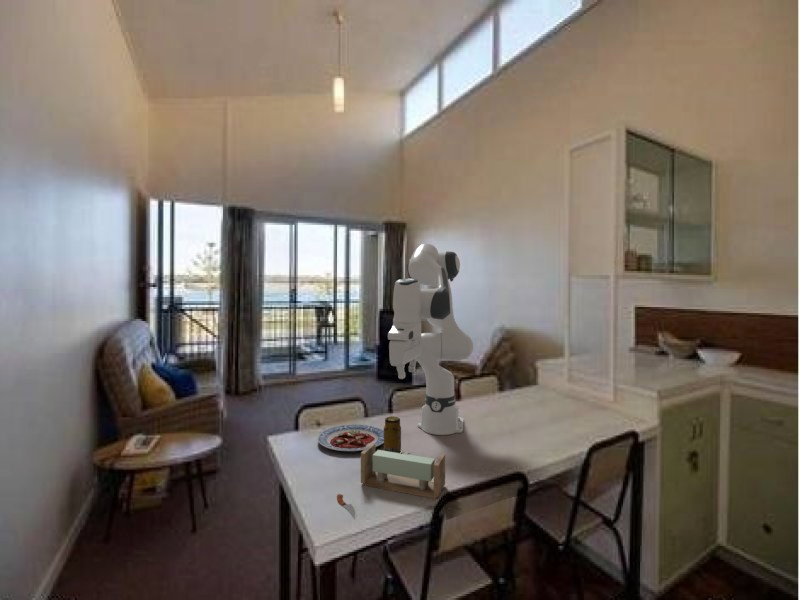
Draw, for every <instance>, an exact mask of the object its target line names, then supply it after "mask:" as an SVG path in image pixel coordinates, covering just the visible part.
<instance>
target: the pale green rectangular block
mask: <svg viewBox="0 0 800 600" xmlns="http://www.w3.org/2000/svg"><path fill="white" fill-rule="evenodd" d="M382 450H383V449H377V450H375V453H374V454H373V471H374V472H379V473H385V474H391V475H396V476H402V477H407V478H413V479H419V480H424V481H430V482H432V481H433V480H434V464H435V462H436V459H435V458H432V457H427V456H426V457H425V456H418V455H413V454H401V453H395V452H388V451H382Z"/></svg>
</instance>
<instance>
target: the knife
mask: <svg viewBox="0 0 800 600" xmlns="http://www.w3.org/2000/svg"><path fill="white" fill-rule="evenodd" d="M343 498H344V495H343V494H341V493H339V494H337V495H336V500H337V503H338V504H339V505H340V506H341V507H343V508H344V509H345V510H347V512H348V513H349V514H350V515H351V516H352V518H353V520H355V519H356V518H357V516H358V509H357V508H356V506H355V505H354V504H353V503H350V504H349V503H348V504H347V503H346V502H345V501H344V500H343Z"/></svg>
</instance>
